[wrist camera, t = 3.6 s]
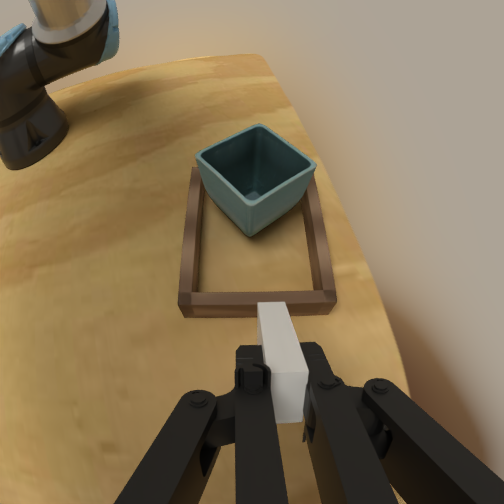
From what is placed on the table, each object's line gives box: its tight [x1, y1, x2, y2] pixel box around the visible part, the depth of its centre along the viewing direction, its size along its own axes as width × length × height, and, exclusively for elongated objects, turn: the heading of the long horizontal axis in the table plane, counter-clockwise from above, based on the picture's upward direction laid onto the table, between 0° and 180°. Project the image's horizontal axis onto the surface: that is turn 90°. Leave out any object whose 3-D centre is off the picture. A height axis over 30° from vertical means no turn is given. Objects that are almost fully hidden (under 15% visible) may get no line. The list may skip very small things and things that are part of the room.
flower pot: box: [195, 123, 317, 237], centre depth 33 cm, size 9×9×9 cm
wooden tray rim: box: [178, 167, 337, 318], centre depth 33 cm, size 17×14×4 cm
